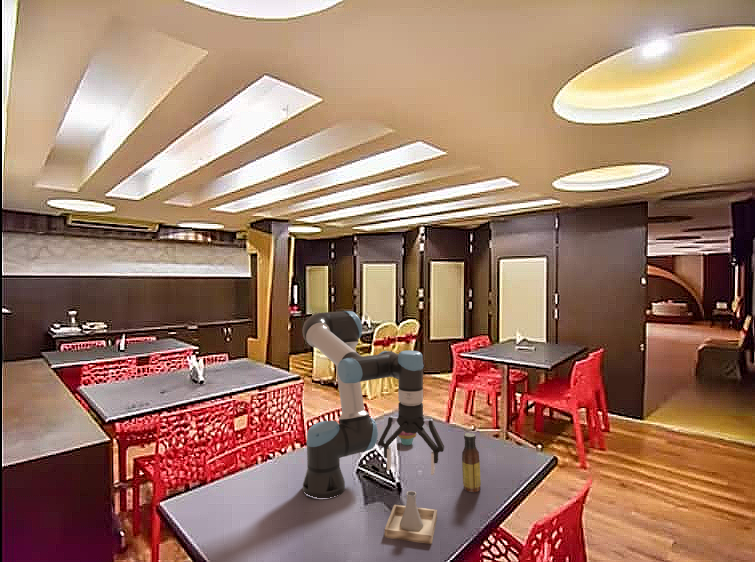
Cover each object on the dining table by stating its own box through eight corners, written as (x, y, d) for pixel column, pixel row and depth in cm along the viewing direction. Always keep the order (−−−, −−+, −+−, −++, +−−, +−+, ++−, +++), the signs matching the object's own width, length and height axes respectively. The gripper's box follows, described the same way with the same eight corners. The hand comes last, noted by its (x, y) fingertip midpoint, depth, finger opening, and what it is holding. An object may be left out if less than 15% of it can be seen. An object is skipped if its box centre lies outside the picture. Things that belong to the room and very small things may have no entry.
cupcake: (395, 441, 203) (395, 415, 202) (412, 438, 205) (412, 413, 205) (401, 448, 194) (401, 421, 194) (419, 445, 197) (419, 419, 197)
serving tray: (384, 537, 129) (384, 529, 129) (394, 512, 143) (394, 504, 143) (431, 544, 126) (431, 535, 126) (437, 517, 140) (437, 509, 140)
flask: (422, 533, 130) (421, 500, 130) (398, 530, 132) (397, 498, 131) (424, 519, 137) (424, 488, 137) (401, 517, 139) (401, 486, 139)
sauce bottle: (478, 484, 161) (477, 431, 160) (482, 493, 155) (482, 437, 154) (460, 485, 161) (460, 431, 160) (464, 493, 154) (464, 437, 154)
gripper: (368, 402, 133) (368, 471, 134) (450, 409, 127) (450, 481, 128) (374, 395, 140) (374, 460, 141) (452, 401, 134) (452, 469, 135)
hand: (410, 470), depth 134 cm, fingers open, 13 cm apart
